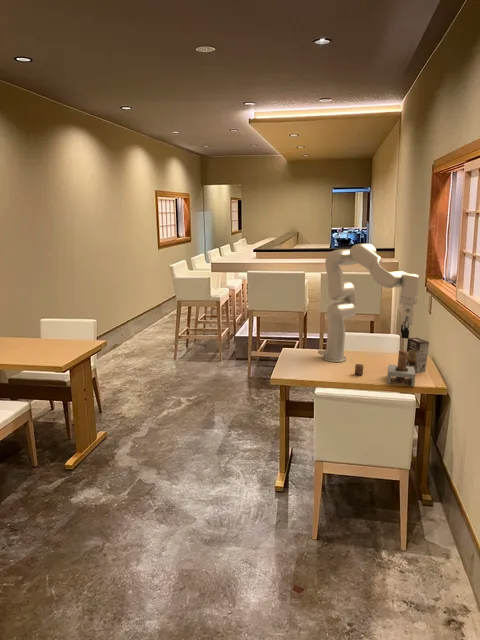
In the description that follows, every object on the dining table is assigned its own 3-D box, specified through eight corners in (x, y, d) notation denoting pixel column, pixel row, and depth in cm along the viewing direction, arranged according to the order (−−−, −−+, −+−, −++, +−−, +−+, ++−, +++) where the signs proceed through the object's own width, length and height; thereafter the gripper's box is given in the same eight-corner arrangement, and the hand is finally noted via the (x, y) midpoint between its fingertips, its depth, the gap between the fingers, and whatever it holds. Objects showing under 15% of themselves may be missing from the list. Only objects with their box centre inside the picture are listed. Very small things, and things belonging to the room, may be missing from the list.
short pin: (354, 375, 252) (355, 366, 250) (354, 373, 255) (355, 363, 254) (362, 376, 251) (363, 366, 249) (362, 373, 254) (363, 364, 253)
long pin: (396, 381, 244) (399, 352, 240) (396, 379, 248) (398, 349, 244) (404, 382, 243) (407, 353, 239) (404, 380, 247) (407, 350, 243)
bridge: (387, 383, 241) (388, 371, 240) (387, 375, 252) (388, 364, 251) (414, 386, 238) (415, 374, 237) (412, 378, 249) (413, 366, 248)
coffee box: (404, 367, 266) (407, 338, 262) (413, 366, 268) (416, 336, 264) (416, 372, 257) (419, 342, 254) (426, 371, 260) (429, 341, 256)
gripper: (418, 304, 227) (413, 341, 231) (415, 297, 243) (411, 331, 247) (400, 303, 229) (396, 339, 233) (399, 296, 245) (395, 330, 249)
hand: (404, 335), depth 240 cm, fingers open, 9 cm apart
